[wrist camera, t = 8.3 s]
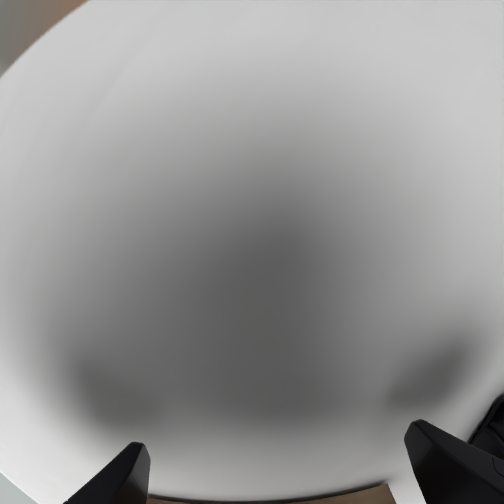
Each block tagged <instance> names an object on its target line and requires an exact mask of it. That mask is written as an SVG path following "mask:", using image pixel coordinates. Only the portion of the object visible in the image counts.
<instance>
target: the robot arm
mask: <svg viewBox="0 0 504 504" xmlns="http://www.w3.org/2000/svg"><path fill="white" fill-rule="evenodd" d="M404 442H405V445H406V448H407V452H408V455H409V458H410V462H411V465H412V469H413V472H414V475H415V477H416V479H417V482H418V484H419V487H420V489H421V491H422V494H423V496H424V499H425V501H426V504H504V396H502V397H501V398H499V399H498V400H497V401H496V403H495V404H494V406H493V408H492V409H491V411H490V413H489V415H488V416H487V418H486V420H485V422H484V423H483V425H482V427H481V428H480V430H479V431H478V433H477V434H476V436H475V438H474V439H473V441H472V442H471V444H468V443H466V442H464V441H462V440H460V439H458V438H456V437H454V436H453V435H451V434H449V433H447V432H445V431H443V430H441V429H439V428H438V427H436V426H434V425H432V424H430V423H428V422H427V421H425V420H422V419H419V420H416V421H413V422H412V423H411V424H410V426H409V428H408V430H407V432H406V434H405V437H404ZM149 472H150V456H149V454H148V451H147V449H146V446H145V445H144V444H143V443H138V442H131V443H130V444H129V445H128V446H127V447H126V448H125V449H124V450H123V451H121V452H120V453H119V454H118V455H117V456H116V457H115V458H114V459H113V460H112V461H111V462H110V463H109V464H107V465H106V466H105V467H104V468H103V469H102V470H101V471H100V472H99V473H98V474H96V475H95V476H94V477H93V478H92V479H91V480H90V481H89V482H87V483H86V484H85V485H84V486H83V487H82V488H81V489H79V490H78V491H77V492H76V493H75V494H74V495H72V496H71V497H70V498H69V499H68V501H65V502H64V503H63V504H146V501H147V494H148V482H149Z"/></svg>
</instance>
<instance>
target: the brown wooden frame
mask: <svg viewBox="0 0 504 504" xmlns="http://www.w3.org/2000/svg"><path fill="white" fill-rule="evenodd" d="M146 504H189V503H180V502H172V501H164V500H158V499H152V498H147V501H146ZM287 504H396V502H395V499H394V497H393V495H392V493H391V491H390V488H389V486H388V484H384V485H381V486H377V487H374V488H370V489H366V490H362V491H358V492H354V493H350V494H345V495H340V496H335V497H330V498H324V499H318V500H312V501H304V502H296V503H287Z"/></svg>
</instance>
